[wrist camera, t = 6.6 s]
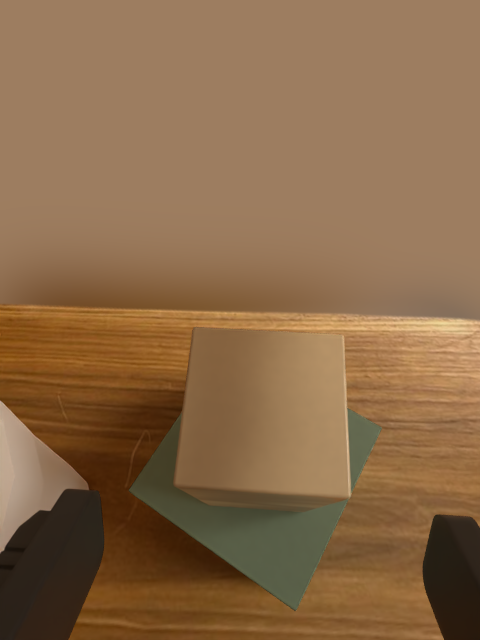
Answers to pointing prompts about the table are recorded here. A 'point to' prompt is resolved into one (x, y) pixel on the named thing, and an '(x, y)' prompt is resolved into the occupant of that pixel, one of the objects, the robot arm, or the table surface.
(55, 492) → the foam cup
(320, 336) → the block
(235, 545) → the stand
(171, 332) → the table surface
